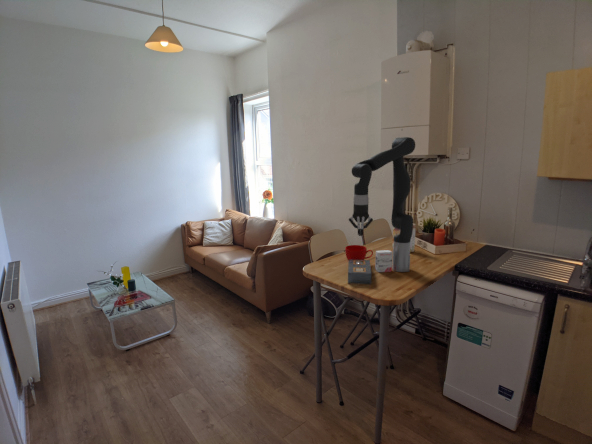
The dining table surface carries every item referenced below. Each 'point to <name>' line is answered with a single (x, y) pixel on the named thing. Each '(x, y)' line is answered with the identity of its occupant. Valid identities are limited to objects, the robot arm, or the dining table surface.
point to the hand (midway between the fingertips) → (360, 235)
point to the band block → (359, 272)
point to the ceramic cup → (356, 252)
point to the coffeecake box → (412, 241)
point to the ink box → (383, 261)
